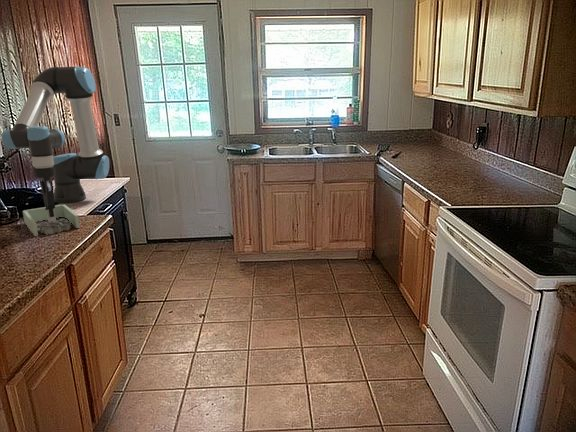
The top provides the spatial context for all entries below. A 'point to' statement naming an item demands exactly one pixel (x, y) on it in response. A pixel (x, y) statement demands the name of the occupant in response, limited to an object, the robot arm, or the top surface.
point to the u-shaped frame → (41, 214)
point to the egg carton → (54, 226)
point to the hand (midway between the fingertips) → (52, 223)
